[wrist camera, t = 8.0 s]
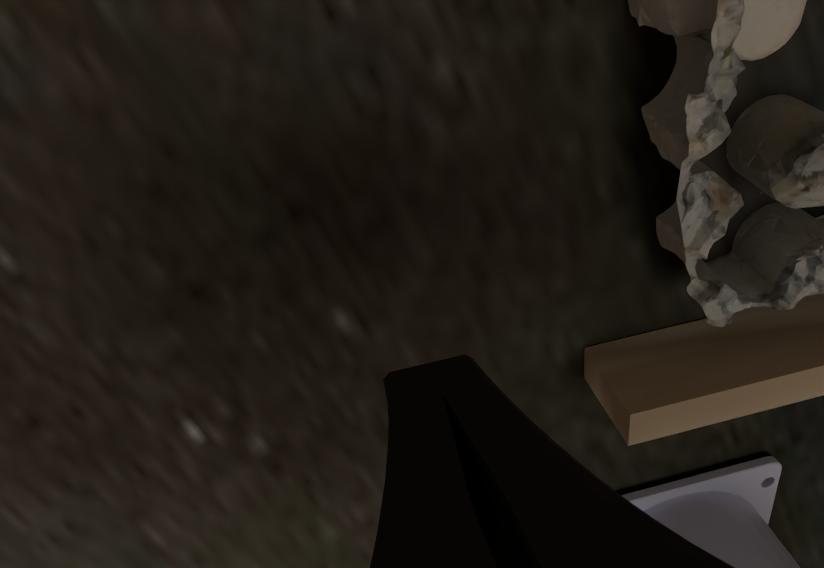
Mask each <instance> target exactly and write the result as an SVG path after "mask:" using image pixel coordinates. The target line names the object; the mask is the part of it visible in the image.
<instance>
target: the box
mask: <svg viewBox="0 0 824 568" xmlns="http://www.w3.org/2000/svg"><path fill="white" fill-rule="evenodd" d="M707 320H708V319H707V318H706V319H702V320H697V321H693V322H689V323H685V324H681V325H677V326H673V327H668V328H664V329H660V330H656V331H652V332H648V333H644V334H639V335H635V336H631V337H627V338H623V339H619V340H615V341H611V342H606V343H602V344H598V345H594V346H590V347H586V348H585V354H584V378H585V380H586V381H587V383H588V384H589V386H590V388H591V389H592V391H593V392H594V394H595V395H596V397H597V398H598V400H599V401H600V403H601V405H602V406H603V408H604V409H605V411H606V412H607V414H608V415H609V417H610V418H611V420H612V422H613V423H614V425H615V426H616V428H617V429H618V431H619V432H620V434H621V436H622V437H623V439H624V440H625V442H626V443H627V445H628V446H630V445H634V444H638V443H642V442H645V441H649V440H653V439H657V438H661V437H665V436H668V435H672V434H676V433H680V432H684V431H688V430H692V429H695V428H699V427H703V426H707V425H711V424H715V423H718V422H722V421H726V420H730V419H734V418H738V417H742V416H745V415H749V414H753V413H757V412H761V411H765V410H769V409H772V408H776V407H780V406H784V405H788V404H792V403H795V402H799V401H803V400H807V399H811V398H815V397H819V396H822V395H824V293H823V294H814V295H808V296H805V297H803V298H802V299H801V300H800V301H799V302H798V303H796V305H795V307H794V308H793V309H789V310H778V309H774V308H770V307H767V306H762V307H751V308H748V309H744V310H741V311H738V312H735V313H734V314H733V315H732V323H730V324H729V325H726V326H724V327H717V326H712V325H709V324H708V323H707V322H706V321H707Z"/></svg>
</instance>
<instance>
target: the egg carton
mask: <svg viewBox="0 0 824 568" xmlns="http://www.w3.org/2000/svg"><path fill="white" fill-rule="evenodd" d="M806 1H807V0H628V4H629V9H630V13H631V15H632V16H633V17H635V18H636V19H637V22H638V25H639V26H642V25H646V26H650V27H653V28H656V29H657V30H659V31H660V32H663V33H665V34H669V35H673V36H674V38H675V42H676V46H677V61H676V64H675V67H674V69H673V72H672V74H671V76H670V79H669V81H668V82H667V84H666V85H665V87H664V88H663V90H662V91H661V93H659V94H658V95H657V96H656V97H655V98H654V99H653V100H652V101H650V102H649V103H647V104H646V105H644V106H643V107H642V108H641V110H642V115H643V118H644V121H645V124H646V126H647V129H648V132H649V134H650V140H651V142H652V143H654V144H655V145H656V146H657V148H658V151H659V153H660V155H661V156H662V158H663V159H665V160H668V161H670V162H671V163H672V164H673V165H674V166H676V167H677V168H678V169H680V178H679V185H678V191H677V197H676V201H675V203H674V204H673V205H672V206H671V207H670V208H669V209H667V210H666V211H665V212H663V213H662V214H660V215H658V216H657V217H656V231H657V237H658V240H659V242H660V245H661V246H662V247H663V248H665V249H667V250H669V251H671V252H673V253H675V254H676V255H677V256H678V257H679V258H680V259H681V260H682V261H684V264H685V266H686V269H687V271H688V273H689V275H690V277H691V283H690V284H689V285H688V287H687V292H688V293H689V295H690V296H691V297H692V298H693V299H694V300H695V301H697V302H698V303H699V304H700V305H701V306H702V307H703V310H704V312H705V315H706V317H707V319H708V320H707V321H706V322H707V323H708V324H709V325H712V326H717V327H724V326H726V325H729V324H730V323H732V315H733V314H734V313H735V312H738V311H741V310H744V309H748V308H751V307H762V306H767V307H770V308H774V309H778V310H789V309H793V308H794V307H795V305H796V303H798V302H799V301H800V300H801V299H802V298H803V297H805V296H808V295H814V294H823V293H824V215H822V216H819V217H817V218H814V217H813V216H811V215H810V214H808V213H807V212H805V211H804V210H802V209H801V208H805V207H815V206H824V112H823V111H821V110H819V109H817V108H816V107H814V106H811V105H809V104H807V103H805V102H803V101H801V100H799V99H797V98H794V97H791V96H789V95H786V94H776V95H770V96H766V97H764V98H762V99H760V100H758V101H756V102H755V103H753V104H752V105H751V106H749V107H748V108H747V109H745V110H744V111H743V112H742V114H741V115H740V116H739V117H738V119H737V120H736V122H735V123H734V125H733V127H732V129H730V126H729V124H728V121H727V118H726V116H725V111H726V110H727V109H728V108H729V106H730V104H731V102H732V100H733V99H734V97H735V96H736V94H737V91H736V84H737V76H738V75H739V74H740V73H742V72H743V71H744V70H745V69H746V68H745V66H744V64H743V63H742V61H741V60H750V61H753V60H757V59H762V58H765V57H766V56H768V55H770V54H772V53H773V52H775V51H777V50H778V49H779V48H780V47H782V46H783V45H784V44H785V43H786V42H787V41H788V40H789V39H790V38H791V36H792V35H793V33H794V32H795V30H796V29H797V27H798V26H799V24H800V22H801V19H802V15H803V12H804V8H805V4H806ZM740 59H741V60H740ZM728 136H729V137H728ZM727 137H728V140H727V144H726V157H727V159H728V162H729V165H730V166H731V167H732V168H733V169H734V170H735V172H736V173H738V174H739V175H741V176H742V177H744V178H745V179H747V180H748V181H750V182H751V183H753V184H754V185H755V186H757V187H758V188H759V189H761V190H762V192H765V193H766V194H767V195H768V196H770V197H771V198H773V199H774V200H776V201H778V202H774V203H770V204H767V205H765V206H763V207H761V208H760V209H758V210H757V211H755V212H754V213H752V214H751V215H750V216H749V217H748V218H747V219H746V220H745V221H744V222H743V224H742V225H741V226H740V228H739V230H738V231H737V233H736V236H735V238H734V241H733V246H732V250H731V252H730V253H728V254H727V255H724V256H722V257H719V258H716V259H714V260H712V261H709V262H706V263H705V262H704V261H703V260H702V259H707V257H708V253H709V250H710V248H711V246H712V245H713V243H714V242H716V241H717V240H719V239H720V238H722V237H723V236H725V234H726V231H727V227H728V223H729V219H730V218H731V217H732V216H733V215H734V214H735V213H736V212H737V211H738V210H739V209H740V208H741V207H742V206H743V205H744V203H743V200H742V196H741V193H740V192H739V191H737V190H736V189H734V188H732V187H731V186H729V185H728V184H727V183H726V182H725V181H724V180H723V179H722V178H721V177H720V176H719V175H717V174H716V173H715V172H714V171H712V170H711V169H710V168H709V167H707V166H706V165H705V164H703V163H702V162H700V161H699V159H701V158H702V157H704V156H706V155H707V154H709V153H710V152H711V151H713V150H714V149H715V148H717V147H718V146H719V145H721V144H722V142H723V141H724V140H725V139H726V138H727ZM762 192H761V193H762ZM761 193H760V194H761ZM759 196H760V195H759Z"/></svg>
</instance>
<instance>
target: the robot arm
mask: <svg viewBox="0 0 824 568" xmlns="http://www.w3.org/2000/svg"><path fill="white" fill-rule="evenodd" d="M383 381H384V386H385V391H386V397H387V402H388V415H389V436H388V452H387V465H386V477H385V486H384V493H383V499H382V506H381V512H380V519H379V525H378V531H377V537H376V542H375V547H374V552H373V556H372V561H371V565H370V568H800V566H799V565H798V564H797V562H796V561H795V560H794V559H793V557H792V556H791V555H790V553H789V552H788V551H787V549H786V548H785V547H784V546H783V544H782V543H781V542H780V540H779V539H778V538H777V536H776V535H775V534H774V533H773V531H772V530H771V529H770V527H769V526H768V524H769V519H770V515H771V511H772V507H773V503H774V499H775V494H776V490H777V486H778V482H779V478H780V474H781V470H782V465H781V464H780V463H779V462H778V461H777V460H776V458H775V457H772V456H767V457H762V458H759V459H755V460H751V461H747V462H744V463H740V464H736V465H732V466H729V467H725V468H721V469H717V470H714V471H710V472H706V473H703V474H699V475H695V476H691V477H688V478H684V479H680V480H676V481H673V482H669V483H665V484H661V485H658V486H654V487H650V488H647V489H643V490H639V491H635V492H632V493H628V494H624V495H620V494H618V493H617V492H616V491H614V490H613V489H612V488H610V487H609V486H608V485H606V484H605V483H604V482H603V481H601V480H600V479H599V478H597V477H596V476H595V475H594V474H592V473H591V472H590V471H589V470H587V469H586V468H585V467H584V466H583V465H581V464H580V463H579V462H578V461H576V460H575V459H574V458H573V457H572V456H570V455H569V454H568V453H567V452H566V451H565V450H563V449H562V448H561V447H560V446H559V445H558V444H556V443H555V442H554V441H553V440H552V439H551V438H550V437H549V436H548V435H547V434H545V433H544V432H543V431H542V430H541V429H540V428H539V427H538V426H537V425H536V424H534V423H533V422H532V421H531V420H530V419H529V418H528V417H527V416H526V415H525V414H524V413H523V412H522V411H521V410H520V409H519V408H518V407H517V406H516V405H515V404H514V403H513V402H512V401H511V400H510V399H509V398H508V397H507V396H506V395H505V394H504V393H503V392H502V391H501V390H500V389H499V388H498V387H497V386H496V385H495V384H494V383H493V382H492V380H491V379H490V378H489V377H488V376H487V375H486V374H485V373H484V371H483V370H482V369H481V368H480V367H479V366H478V365H477V363H476V362H475V361H474V360H473V359H472V358H471V357H469V356H467V355H466V354H465V355H461V356H457V357H452V358H448V359H444V360H440V361H435V362H431V363H427V364H423V365H418V366H414V367H410V368H406V369H401V370H397V371H393V372H389V374H388V375H387V376H386V377H385V378H384V379H383Z"/></svg>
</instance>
